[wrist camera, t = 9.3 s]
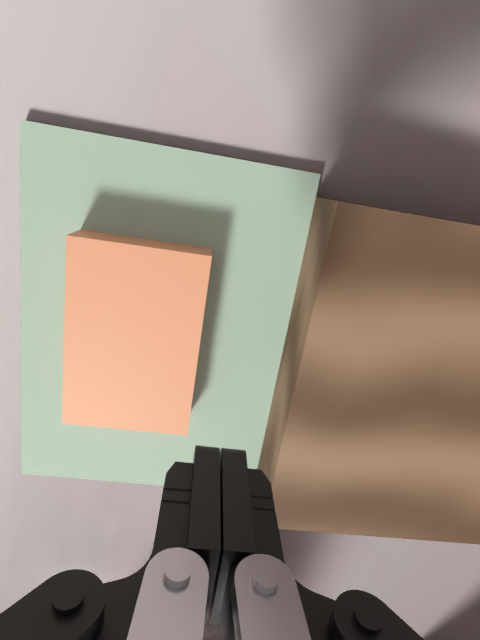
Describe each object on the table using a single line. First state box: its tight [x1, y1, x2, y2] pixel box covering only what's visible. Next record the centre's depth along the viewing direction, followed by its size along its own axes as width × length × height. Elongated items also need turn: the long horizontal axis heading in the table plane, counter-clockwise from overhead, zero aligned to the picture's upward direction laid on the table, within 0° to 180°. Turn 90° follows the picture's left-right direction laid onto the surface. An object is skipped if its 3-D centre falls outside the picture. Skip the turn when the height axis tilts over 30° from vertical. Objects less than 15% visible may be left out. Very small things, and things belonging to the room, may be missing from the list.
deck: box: [257, 197, 480, 544], centre depth 21 cm, size 16×14×4 cm
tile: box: [62, 229, 212, 435], centre depth 20 cm, size 9×6×2 cm, turn 171°
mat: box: [20, 120, 321, 486], centre depth 21 cm, size 18×13×1 cm
